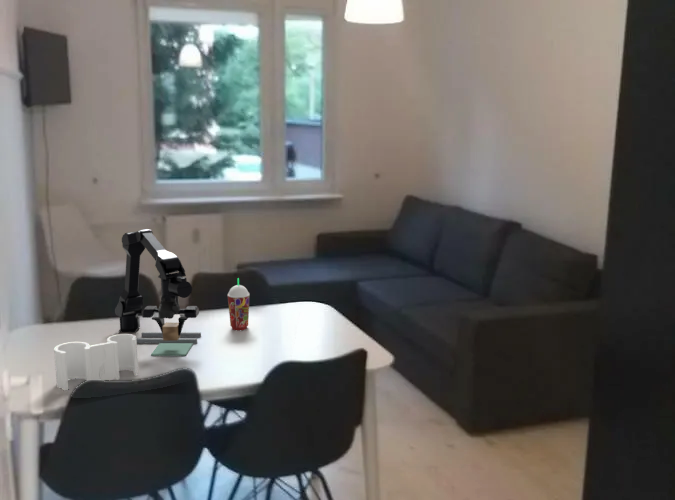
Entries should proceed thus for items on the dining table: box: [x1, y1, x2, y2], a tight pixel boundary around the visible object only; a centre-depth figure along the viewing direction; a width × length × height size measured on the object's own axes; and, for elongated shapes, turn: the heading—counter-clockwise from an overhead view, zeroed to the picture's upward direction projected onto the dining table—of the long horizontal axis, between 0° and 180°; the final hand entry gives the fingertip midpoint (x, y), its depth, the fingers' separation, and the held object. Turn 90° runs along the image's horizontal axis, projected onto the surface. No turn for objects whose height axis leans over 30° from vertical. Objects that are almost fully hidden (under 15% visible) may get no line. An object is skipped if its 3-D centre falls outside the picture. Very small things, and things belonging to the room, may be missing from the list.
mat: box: [150, 343, 194, 357], centre depth 262 cm, size 12×12×1 cm
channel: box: [136, 331, 202, 344], centre depth 274 cm, size 22×8×2 cm, turn 89°
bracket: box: [53, 333, 139, 391], centre depth 234 cm, size 25×10×12 cm, turn 124°
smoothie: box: [227, 277, 250, 332], centre depth 285 cm, size 8×8×20 cm
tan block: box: [162, 322, 181, 341], centre depth 261 cm, size 5×5×5 cm
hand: (171, 335), depth 261 cm, fingers closed on tan block, 5 cm apart
